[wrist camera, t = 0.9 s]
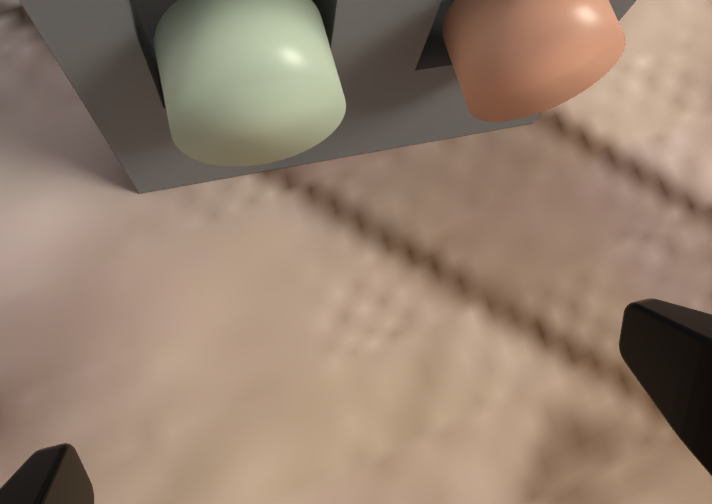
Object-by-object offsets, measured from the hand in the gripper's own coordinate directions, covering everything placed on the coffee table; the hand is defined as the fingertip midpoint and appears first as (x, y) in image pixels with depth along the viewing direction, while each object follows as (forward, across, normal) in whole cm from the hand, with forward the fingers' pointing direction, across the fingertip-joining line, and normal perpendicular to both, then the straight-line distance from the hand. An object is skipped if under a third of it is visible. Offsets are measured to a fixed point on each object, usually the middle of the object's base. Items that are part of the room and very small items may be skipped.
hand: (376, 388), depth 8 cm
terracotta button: (+10, -7, -2) cm, 13 cm away
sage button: (+10, +1, -2) cm, 10 cm away
